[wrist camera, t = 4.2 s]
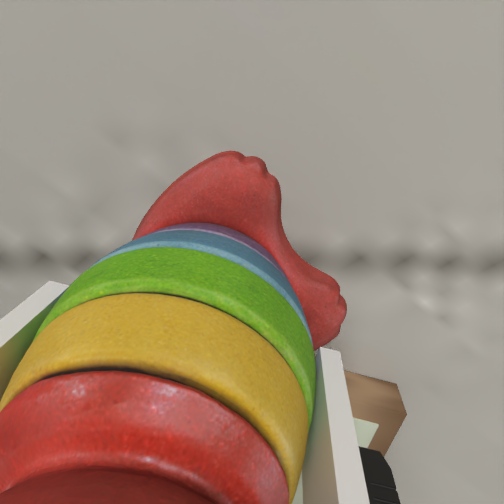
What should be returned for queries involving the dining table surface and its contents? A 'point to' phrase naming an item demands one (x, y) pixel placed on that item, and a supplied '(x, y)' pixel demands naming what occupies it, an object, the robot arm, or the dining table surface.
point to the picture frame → (371, 415)
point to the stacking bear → (176, 358)
